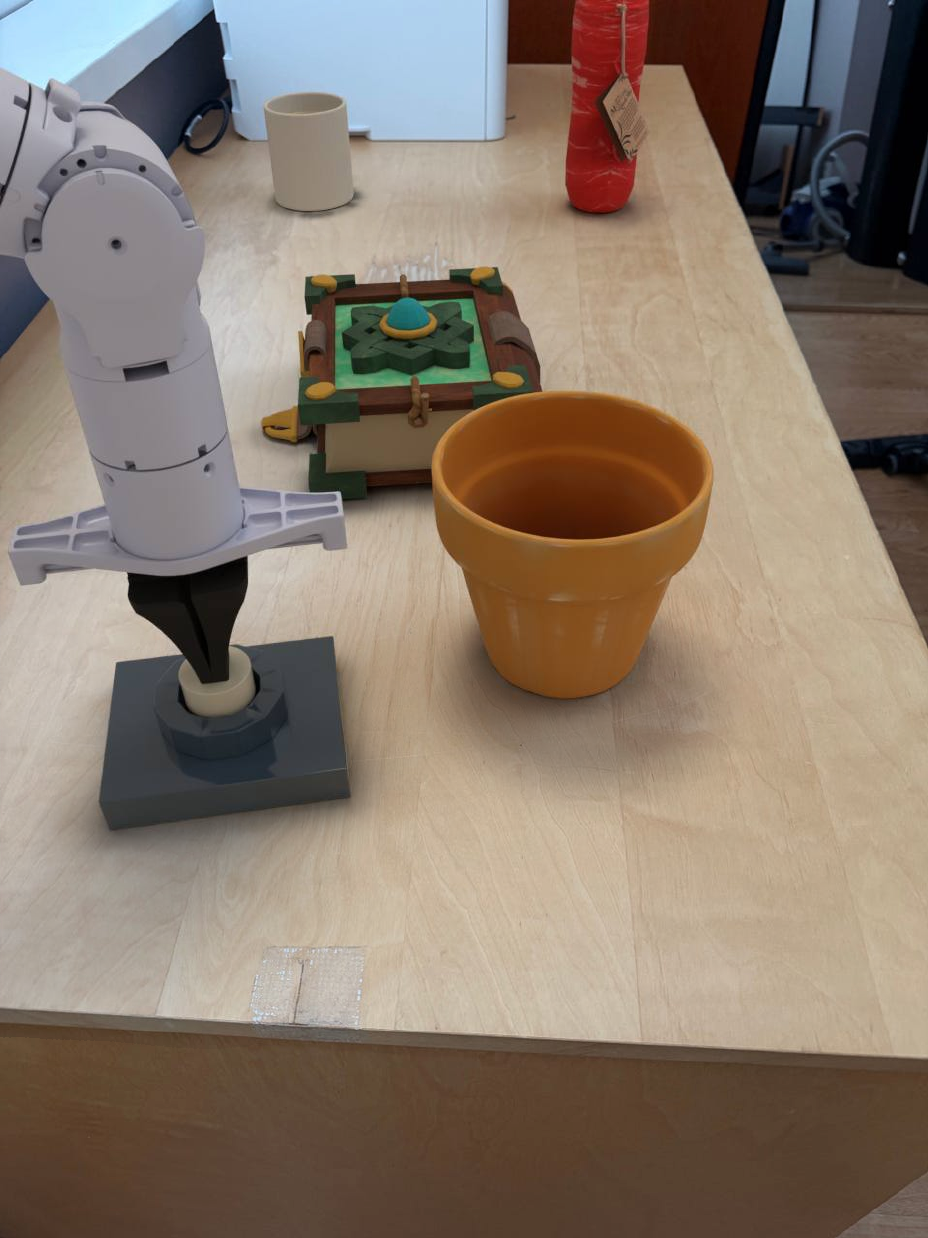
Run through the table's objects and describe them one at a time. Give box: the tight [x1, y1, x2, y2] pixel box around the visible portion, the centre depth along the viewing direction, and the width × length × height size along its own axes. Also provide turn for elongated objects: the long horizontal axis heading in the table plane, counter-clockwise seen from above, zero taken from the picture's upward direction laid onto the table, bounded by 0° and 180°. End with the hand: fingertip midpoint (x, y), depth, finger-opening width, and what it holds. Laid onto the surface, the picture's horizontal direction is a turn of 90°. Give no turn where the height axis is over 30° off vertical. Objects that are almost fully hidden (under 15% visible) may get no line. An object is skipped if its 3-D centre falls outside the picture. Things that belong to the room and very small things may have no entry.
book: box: [260, 266, 544, 500], centre depth 79 cm, size 27×21×10 cm
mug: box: [263, 91, 355, 212], centre depth 115 cm, size 11×10×10 cm
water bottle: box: [564, 0, 651, 214], centre depth 106 cm, size 12×8×25 cm, turn 7°
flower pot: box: [431, 390, 715, 699], centre depth 57 cm, size 14×14×13 cm
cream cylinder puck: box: [179, 646, 256, 718], centre depth 53 cm, size 4×4×2 cm
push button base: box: [98, 635, 352, 831], centre depth 54 cm, size 12×10×4 cm
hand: (215, 669), depth 52 cm, fingers closed, pressing on cream cylinder puck
